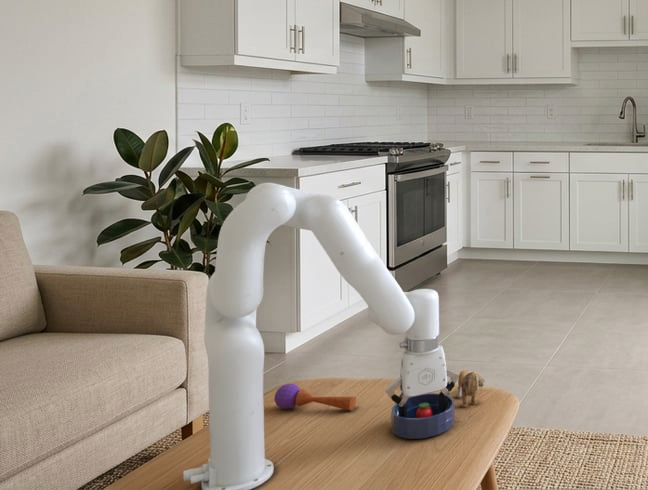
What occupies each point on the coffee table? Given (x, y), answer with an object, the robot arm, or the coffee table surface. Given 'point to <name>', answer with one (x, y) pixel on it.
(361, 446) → the coffee table surface
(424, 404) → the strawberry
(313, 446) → the coffee table surface
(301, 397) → the maraca
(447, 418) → the bowl
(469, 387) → the tan animal figure
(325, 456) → the coffee table surface
